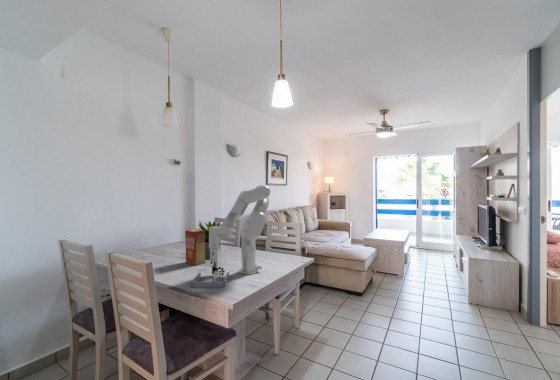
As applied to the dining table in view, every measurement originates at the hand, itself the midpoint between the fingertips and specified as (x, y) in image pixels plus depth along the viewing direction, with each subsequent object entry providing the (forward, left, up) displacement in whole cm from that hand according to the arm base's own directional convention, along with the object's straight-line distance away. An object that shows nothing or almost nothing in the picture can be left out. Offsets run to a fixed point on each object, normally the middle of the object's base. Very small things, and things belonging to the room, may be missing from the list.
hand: (214, 273), depth 168 cm
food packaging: (+21, -29, -2) cm, 36 cm away
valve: (-4, +8, -2) cm, 9 cm away
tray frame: (0, +11, -1) cm, 11 cm away
